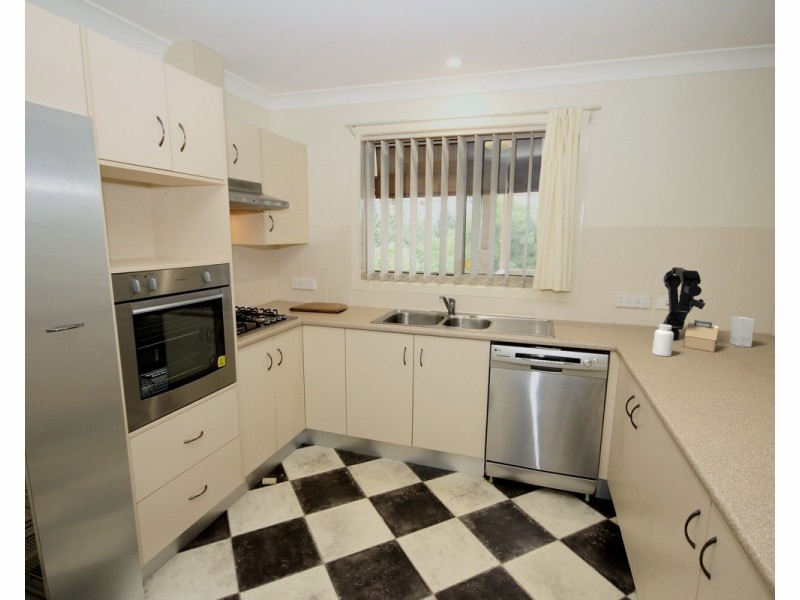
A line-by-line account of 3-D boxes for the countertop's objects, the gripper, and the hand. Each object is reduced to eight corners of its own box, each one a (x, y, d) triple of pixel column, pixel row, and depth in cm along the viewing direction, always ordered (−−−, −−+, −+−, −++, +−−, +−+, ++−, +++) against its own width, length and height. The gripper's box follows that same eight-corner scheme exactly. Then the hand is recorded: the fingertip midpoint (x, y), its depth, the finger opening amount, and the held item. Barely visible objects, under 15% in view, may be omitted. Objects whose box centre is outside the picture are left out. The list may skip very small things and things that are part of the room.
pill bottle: (668, 353, 196) (672, 324, 193) (673, 357, 188) (677, 327, 186) (649, 351, 198) (653, 322, 196) (654, 355, 191) (658, 326, 189)
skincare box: (751, 347, 210) (756, 319, 207) (737, 346, 211) (742, 318, 209) (741, 343, 218) (745, 316, 215) (727, 342, 219) (732, 315, 217)
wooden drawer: (683, 347, 207) (684, 336, 206) (685, 343, 216) (687, 332, 215) (714, 352, 199) (715, 341, 198) (715, 348, 207) (717, 337, 206)
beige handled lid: (684, 336, 206) (685, 330, 204) (688, 323, 212) (688, 317, 210) (715, 340, 198) (716, 334, 196) (718, 327, 204) (719, 321, 202)
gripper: (704, 297, 196) (699, 327, 198) (707, 293, 209) (702, 321, 212) (677, 294, 203) (673, 323, 206) (681, 291, 217) (677, 318, 219)
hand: (682, 322), depth 211 cm, fingers open, 9 cm apart
